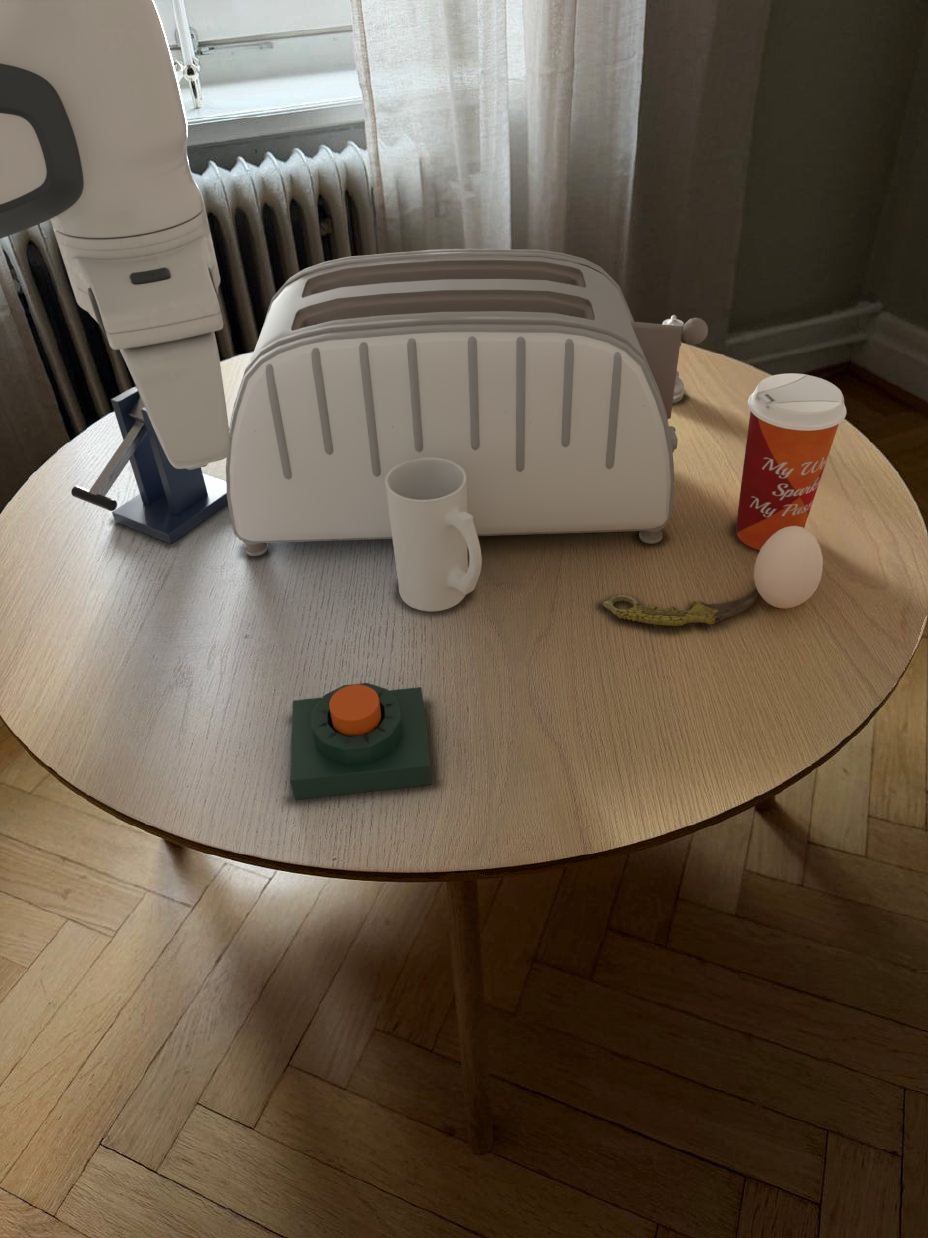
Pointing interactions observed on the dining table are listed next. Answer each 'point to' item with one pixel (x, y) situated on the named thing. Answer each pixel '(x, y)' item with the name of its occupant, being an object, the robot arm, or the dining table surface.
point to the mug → (432, 533)
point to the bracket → (163, 484)
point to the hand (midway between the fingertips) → (194, 458)
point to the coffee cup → (785, 452)
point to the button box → (359, 747)
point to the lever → (115, 464)
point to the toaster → (455, 397)
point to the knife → (677, 617)
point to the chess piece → (678, 383)
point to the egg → (788, 567)
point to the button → (355, 710)
